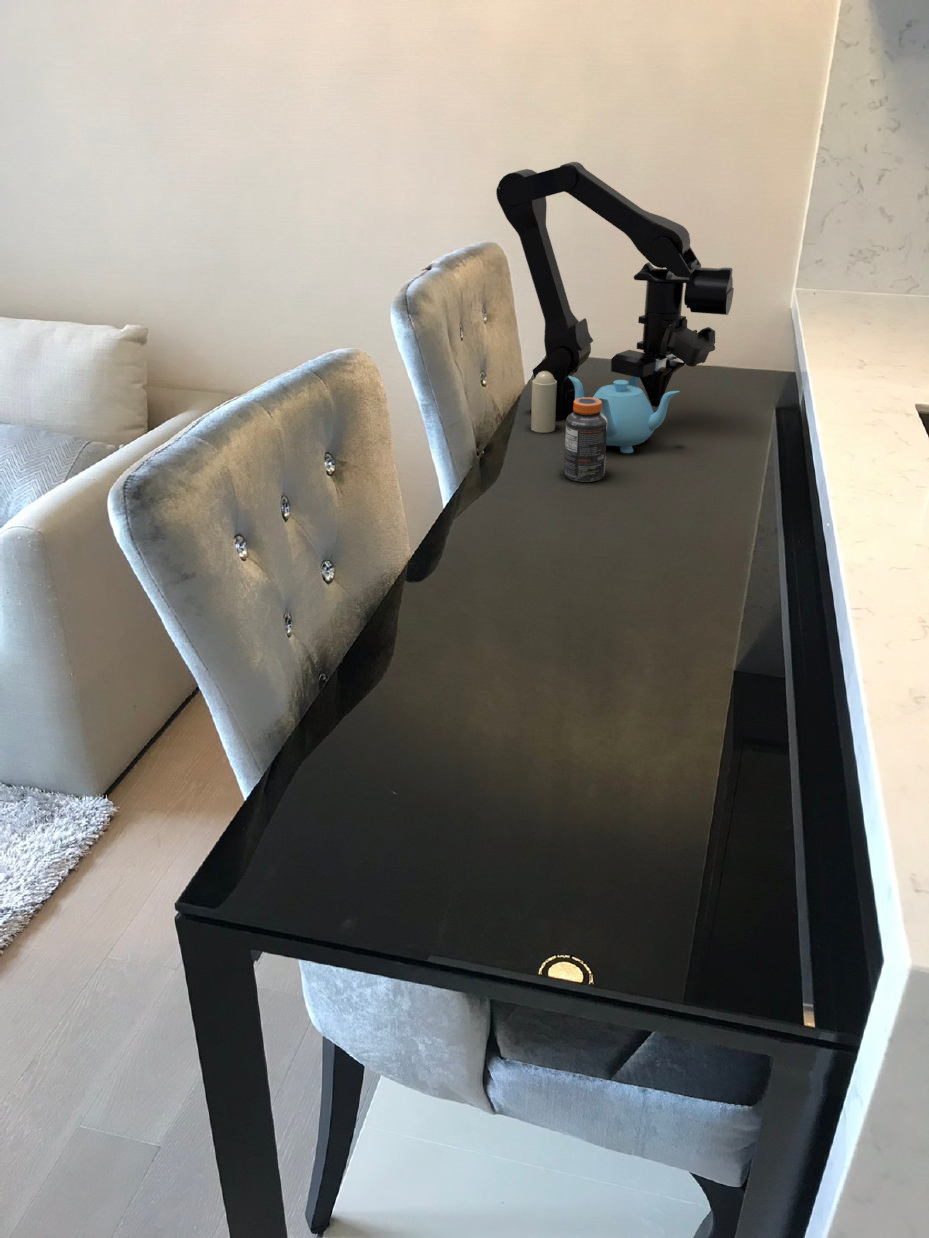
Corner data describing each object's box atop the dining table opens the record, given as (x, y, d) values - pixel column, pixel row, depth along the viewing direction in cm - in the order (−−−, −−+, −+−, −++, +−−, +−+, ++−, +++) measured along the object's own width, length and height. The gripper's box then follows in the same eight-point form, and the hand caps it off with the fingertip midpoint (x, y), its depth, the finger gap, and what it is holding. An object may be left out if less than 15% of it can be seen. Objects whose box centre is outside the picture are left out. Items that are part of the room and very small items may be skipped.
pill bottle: (608, 470, 149) (613, 396, 143) (599, 485, 144) (604, 408, 138) (569, 466, 150) (572, 392, 145) (559, 480, 145) (562, 404, 140)
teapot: (564, 435, 163) (566, 374, 158) (638, 426, 166) (642, 366, 161) (597, 462, 152) (600, 397, 147) (675, 451, 155) (680, 387, 150)
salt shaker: (525, 429, 165) (527, 371, 161) (541, 423, 168) (543, 366, 163) (544, 434, 163) (546, 376, 158) (560, 428, 165) (562, 371, 161)
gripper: (672, 329, 147) (664, 431, 155) (739, 307, 159) (728, 403, 166) (611, 317, 154) (606, 416, 162) (679, 297, 165) (671, 390, 173)
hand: (655, 406), depth 165 cm, fingers closed
